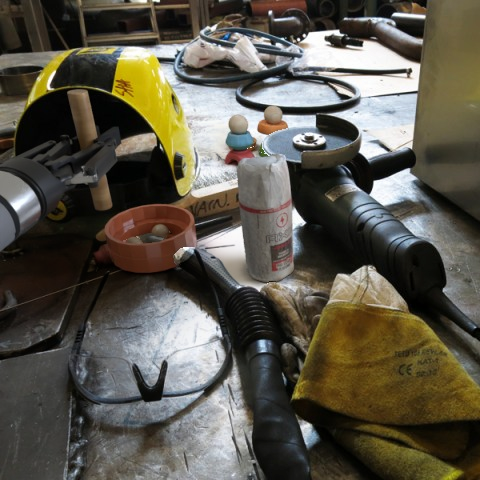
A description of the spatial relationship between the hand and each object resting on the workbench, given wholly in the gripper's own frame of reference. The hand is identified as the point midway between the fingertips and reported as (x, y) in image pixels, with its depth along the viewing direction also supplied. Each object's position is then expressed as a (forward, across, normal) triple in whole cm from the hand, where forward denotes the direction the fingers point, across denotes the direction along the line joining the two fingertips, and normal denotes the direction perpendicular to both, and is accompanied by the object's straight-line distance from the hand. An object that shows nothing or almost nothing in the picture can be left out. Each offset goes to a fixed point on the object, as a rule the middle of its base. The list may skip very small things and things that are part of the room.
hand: (107, 134), depth 75 cm
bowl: (-2, +6, -20) cm, 21 cm away
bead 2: (+1, +6, -18) cm, 19 cm away
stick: (-5, 0, -10) cm, 11 cm away
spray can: (-5, +26, -20) cm, 34 cm away
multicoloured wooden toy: (+46, +11, -20) cm, 52 cm away
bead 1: (-4, +3, -18) cm, 19 cm away
